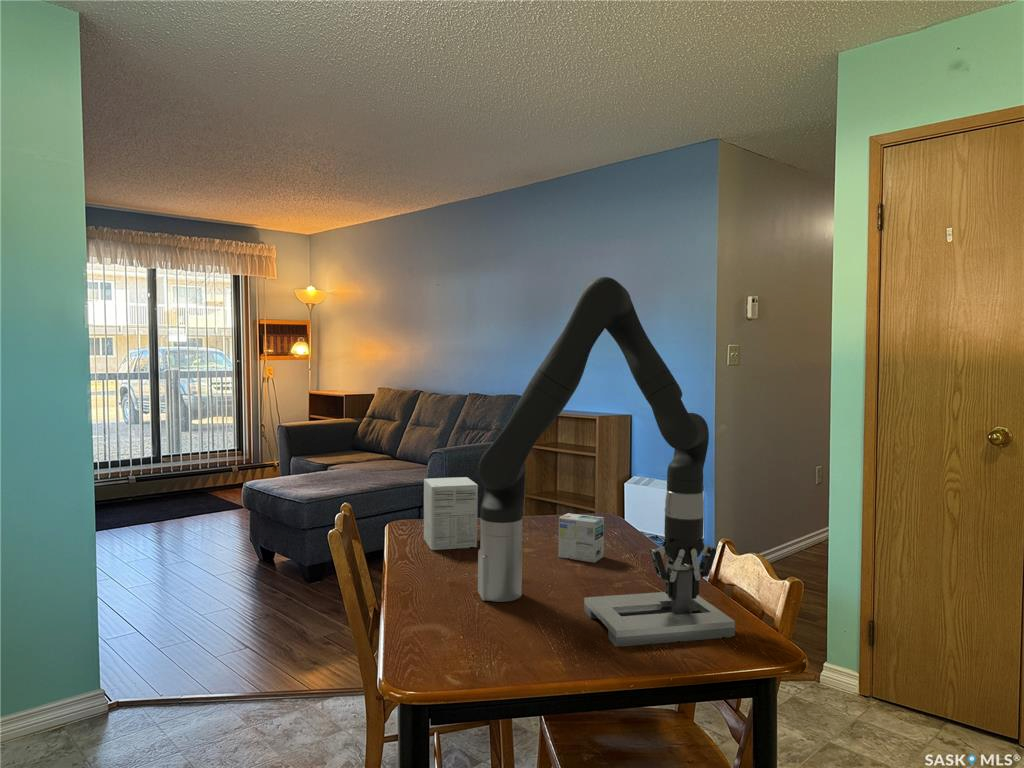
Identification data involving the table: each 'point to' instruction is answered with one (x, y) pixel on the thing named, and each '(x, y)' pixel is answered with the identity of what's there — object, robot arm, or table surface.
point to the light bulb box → (581, 537)
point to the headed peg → (683, 592)
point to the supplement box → (450, 513)
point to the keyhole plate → (656, 619)
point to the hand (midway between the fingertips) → (682, 597)
